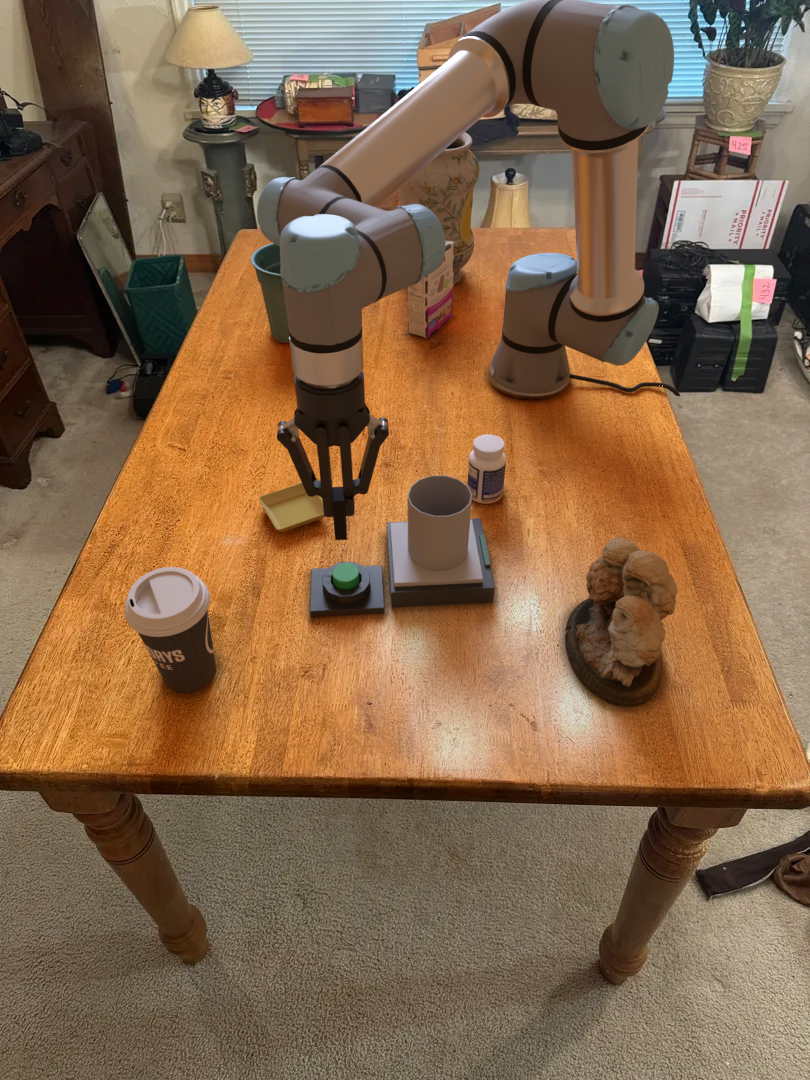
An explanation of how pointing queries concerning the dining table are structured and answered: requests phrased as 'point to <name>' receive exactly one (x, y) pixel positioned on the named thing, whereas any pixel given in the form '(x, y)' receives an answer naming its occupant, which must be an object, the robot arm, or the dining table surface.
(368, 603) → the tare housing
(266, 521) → the dining table surface
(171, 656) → the coffee cup
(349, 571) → the button
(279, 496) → the olive yellow tray
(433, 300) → the candy bar box
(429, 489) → the cup
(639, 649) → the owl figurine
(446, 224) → the vase
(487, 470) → the pill bottle
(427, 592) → the scale
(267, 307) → the flower pot
